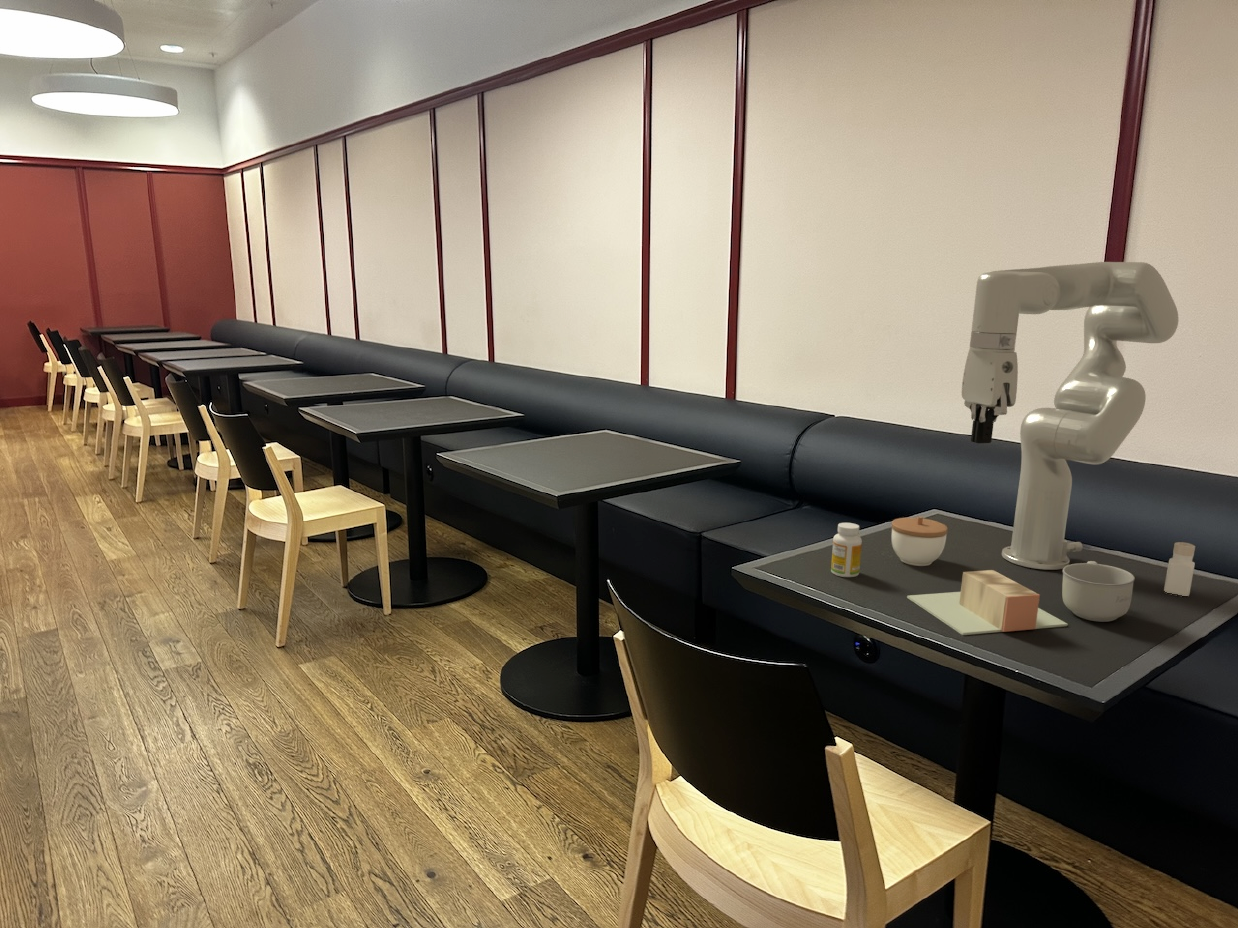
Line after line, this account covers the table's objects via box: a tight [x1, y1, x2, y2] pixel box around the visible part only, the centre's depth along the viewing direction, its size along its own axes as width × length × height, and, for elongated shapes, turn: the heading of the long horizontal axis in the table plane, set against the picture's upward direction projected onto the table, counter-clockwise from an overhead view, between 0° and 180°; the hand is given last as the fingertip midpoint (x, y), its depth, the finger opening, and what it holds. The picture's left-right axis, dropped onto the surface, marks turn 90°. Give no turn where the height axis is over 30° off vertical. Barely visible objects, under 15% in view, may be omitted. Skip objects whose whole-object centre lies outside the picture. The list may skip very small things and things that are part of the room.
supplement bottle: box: [830, 522, 863, 578], centre depth 167 cm, size 5×5×10 cm
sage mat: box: [906, 591, 1068, 636], centre depth 150 cm, size 20×16×1 cm
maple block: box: [959, 569, 1041, 633], centre depth 147 cm, size 6×6×12 cm
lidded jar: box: [890, 515, 949, 567], centre depth 175 cm, size 11×11×9 cm
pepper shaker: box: [1163, 541, 1196, 597], centre depth 160 cm, size 4×4×10 cm
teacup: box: [1061, 560, 1135, 623], centre depth 150 cm, size 14×11×8 cm
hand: (980, 442), depth 159 cm, fingers closed
